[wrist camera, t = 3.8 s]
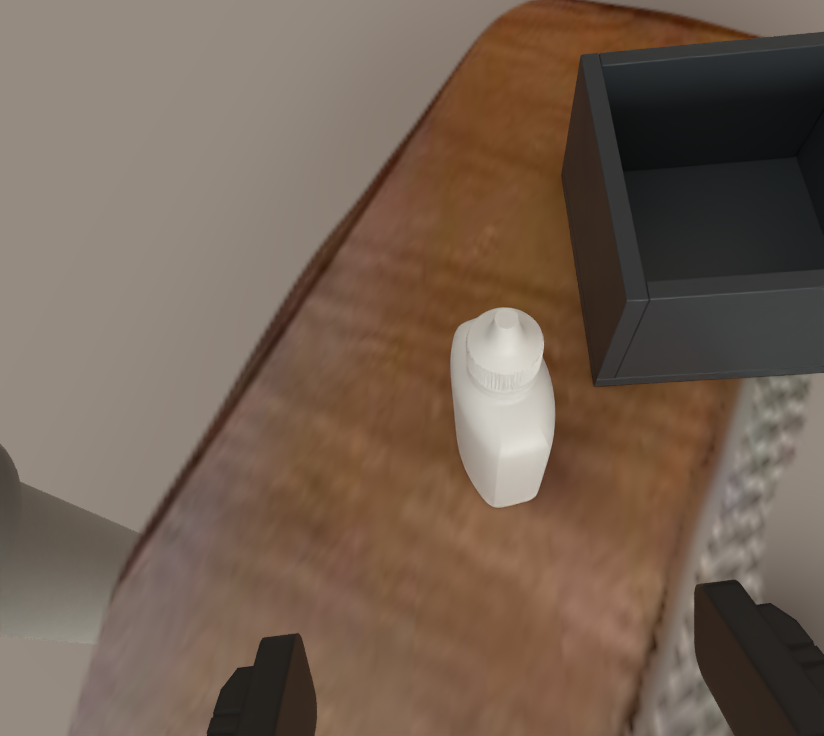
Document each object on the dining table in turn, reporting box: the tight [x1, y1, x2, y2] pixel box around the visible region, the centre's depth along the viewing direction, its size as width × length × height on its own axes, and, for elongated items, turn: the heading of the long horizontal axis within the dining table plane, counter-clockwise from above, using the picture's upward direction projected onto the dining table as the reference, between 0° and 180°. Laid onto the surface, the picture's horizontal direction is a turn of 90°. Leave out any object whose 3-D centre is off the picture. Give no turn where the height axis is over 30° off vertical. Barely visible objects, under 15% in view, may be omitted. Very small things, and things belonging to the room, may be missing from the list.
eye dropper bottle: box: [450, 307, 555, 508], centre depth 25 cm, size 4×6×12 cm
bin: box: [561, 32, 824, 386], centre depth 30 cm, size 13×13×8 cm
